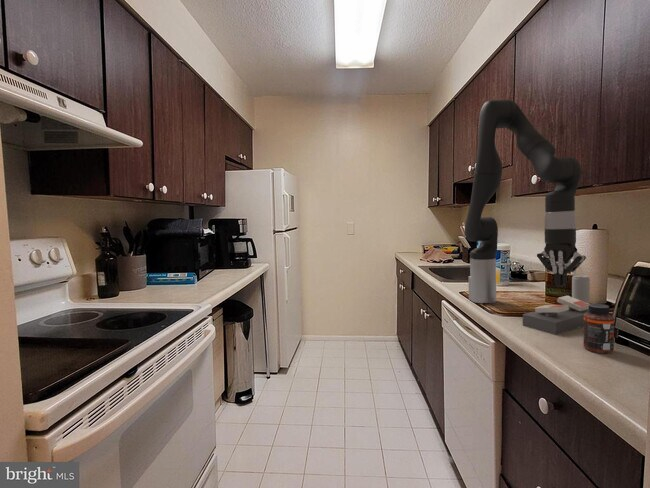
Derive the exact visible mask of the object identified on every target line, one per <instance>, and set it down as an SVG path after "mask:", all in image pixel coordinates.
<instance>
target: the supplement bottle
mask: <svg viewBox="0 0 650 488" xmlns="http://www.w3.org/2000/svg"><path fill="white" fill-rule="evenodd" d="M588 309H589V312H586V313H585V314H584V326H583V347H584V349H586V350H588V351H589V352H593V353H596V354H605V355H607V354H611V353H613V352H614V349H615V317H614V316H613V315H612V314H611V313H610V306H609V305H606V304H604V303H603V304H601V303H589V308H588Z"/></svg>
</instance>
